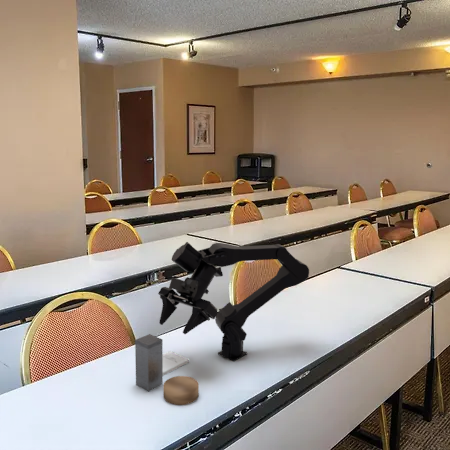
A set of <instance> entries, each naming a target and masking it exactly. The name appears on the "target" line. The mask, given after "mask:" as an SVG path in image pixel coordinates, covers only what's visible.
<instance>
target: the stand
mask: <svg viewBox="0 0 450 450" xmlns="http://www.w3.org/2000/svg"><path fill="white" fill-rule="evenodd" d="M199 385H200V384H199V382H198V380H197V379H195V378H193V377H191V376H186V375H178V376H172V377H169V378H168V379H166V380H165V381H164V382H163V385H162V386H163V387H162V388H163V393H162V395H163V399H164V401H165V402H167V403H169V404H171V405H175V406H183V405H190V404H192V403H194V402H195V401H197V400H198V398H199V391H200V390H199Z"/></svg>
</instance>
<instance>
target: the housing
mask: <svg viewBox="0 0 450 450" xmlns="http://www.w3.org/2000/svg"><path fill="white" fill-rule="evenodd" d="M134 341H135V342H134V346H135V347H134V349H135V353H134V354H135V355H134V356H135V357H134V358H135V386H136V387H138V388H140V389H143V390H144V391H146V392H151V391H153V390H154V389H157V388H159V387H160V386H163V385H164V382H163V377H164V376H163V364H162V355H163V339H162V338H160V337H157V336H155V335H153V334H151V333H149V334H146V335H145V336H141V337H139V338H136V339H134Z"/></svg>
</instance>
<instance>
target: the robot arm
mask: <svg viewBox="0 0 450 450" xmlns="http://www.w3.org/2000/svg"><path fill="white" fill-rule="evenodd" d="M172 254H173V255H172V256H171V261H172V262H173V263H175V264H176V265H177V266H179V267H180V268H181V269H183V270H184V271H185V272H187V273H189V272H193V273H192V274H191V276H190V277H186V278H184V280H182V279H179V278H175V277H171V281H170V284H169V286H168V287H167V286H163V287H160V290H159V291H158V293H157V294H158V295H159V298H160V300H161V301H162V308H161V312H160V318H159V325H162V326H163V325H164V324H165V323H166V322H167V321H168V319H169V318H170V317H171V315H173V314H174V312H175V311H176V310H177V309H178V307H177V306H178V305H179V304H182V305H185V306H187V307H191V308H192V309H191V310H192V311H191V315H190V317H189V319H188V320H187V323H186V324H185V326H184V328H183V330H182V334H184V335H187V334H188V333H189V332H191V331H192V330H194V329H195V328H197V327H198V326H199V325H202V324H203V323H204V322H207V321H210V320H215V324H216V326H217V327H218V329H219V330H220V331H221V333H222V334H223V336H222V340H221V341H222V342H221V351H219V352H217V354H218V355H219V356H222V357H223V358H226V359H227V360H230V361H237V360H239V359H240V358H243V357H244V356H247V354H248V352H247V351H245V350H244V341H245V340H246V337H247V335H248V334H247V332H246V331H245V330H244V329H243V327H244V325H245V323H246V321H247V319H248V318H249V316H251V315H252V314H253V313H255V312H256V311H258V310H259V309H261V308H262V307H263V306H264V305H265V304H267V303H268V302H270V300H272V299H274V298H275V297H276V296H277V295H279V294H280V293H281V292H283V291H284V290H285V289H287V288H292V287H295V286H297V285H299V284H301V283H303V282H305V281H307V279H309V277H310V276H309V275H310V268H309V267H308V265H307V264H305V263H303V262H302V261H301V260H299V259H297V258H295V257H294V256H293V255H292V254H291V253H290V252H289V250H288V249H287V248H286V247H284V246H283V245H281V244H280V243H276V244H267V245H266V244H265V245H240V246H239V245H232V244H229V243H222V242H215V243H212V244H211V245H210V247H207V248H202V249H199V250H197V249H196V248H195V247H193V245H191V244H190V243H189V242H188V241H186V242H185V243H184V244H182V245H181V246H179V247H178V248H177V249H175V251H174V253H172ZM269 260H270V261H271V260H277V261H278V262H279V263H280V264H281V266H280V267H279V268H278V271H277V272H276V275H275V276H274V277H272V278H271V279H269V280H268V281H267V282H265V283H264V284H263V285H262V286H261V287H259V288H257V290H255V291H253V292H252V293H251V294H250V295H249V296H247V297H246V298H244V299H243V300H242V301H240V302H238V303H236V304H232V303H231V302H228V303H226V304H225V306H222V307H221V308H219V309H218V308H217V307H216V306H215V305H214V304H213V303H212V302H211V301H210V300H206V299H203V296H204V295H205V294H206V295H208V294H209V293H210V291H209V290H208V289H209V286H210V284H211V283H212V281H213V279H214V277H216V278H217V277H223V276H224V273H223V271H222V268H223V267H227V266H232V265H235V264H237V263H239V262H240V263H241V262H249V261H251V262H252V261H269Z"/></svg>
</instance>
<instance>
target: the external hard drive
mask: <svg viewBox="0 0 450 450" xmlns="http://www.w3.org/2000/svg"><path fill="white" fill-rule="evenodd" d="M188 363H190V359H189V358H188V357H185V356H183V355H180V354H177V353H175V352H173V351H171V350H170V351H167V352H165V353H162V364H163V377H164V376H165V375H167V374H169V373H171V372H173V371H174V370H176V369H179V368H181V367H182V366H184V365H186V364H188Z"/></svg>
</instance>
